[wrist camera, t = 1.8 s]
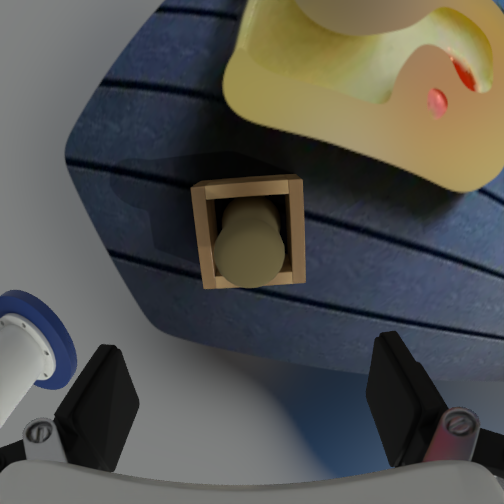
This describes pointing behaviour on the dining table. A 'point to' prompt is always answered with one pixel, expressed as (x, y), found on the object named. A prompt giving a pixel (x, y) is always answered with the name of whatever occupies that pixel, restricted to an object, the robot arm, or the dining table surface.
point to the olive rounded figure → (250, 242)
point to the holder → (245, 187)
